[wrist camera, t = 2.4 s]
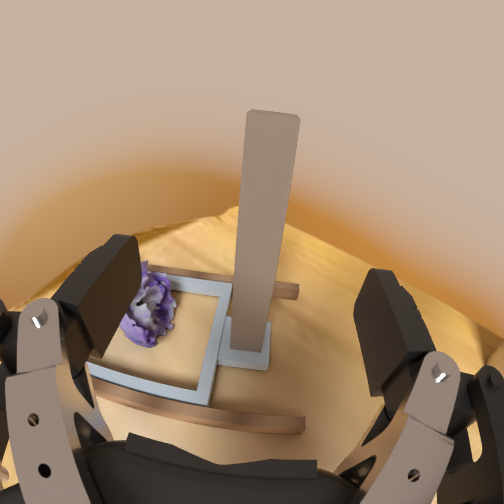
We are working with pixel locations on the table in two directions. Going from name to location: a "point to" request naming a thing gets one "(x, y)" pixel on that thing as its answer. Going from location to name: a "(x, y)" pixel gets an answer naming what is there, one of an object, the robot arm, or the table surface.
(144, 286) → the flower
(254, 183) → the frame with upright post
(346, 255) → the table surface
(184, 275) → the frame
